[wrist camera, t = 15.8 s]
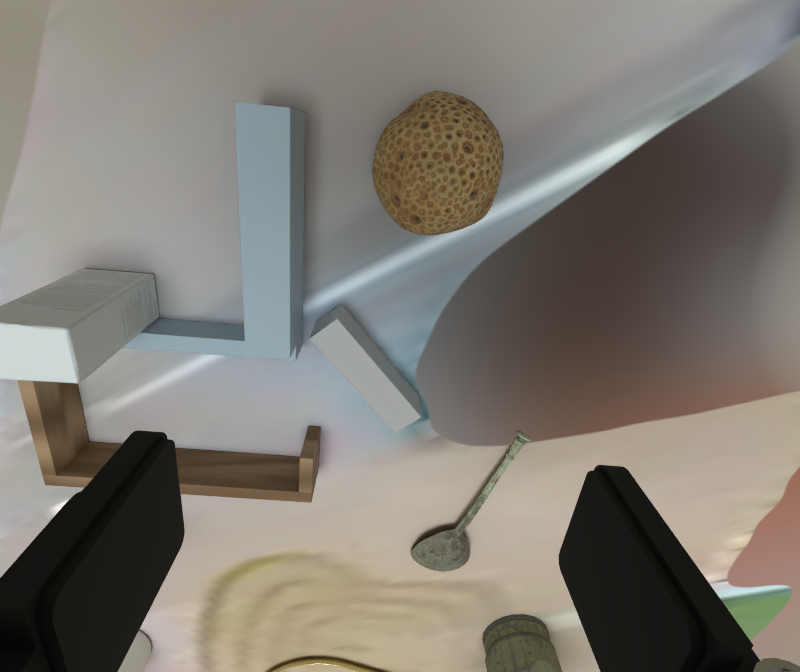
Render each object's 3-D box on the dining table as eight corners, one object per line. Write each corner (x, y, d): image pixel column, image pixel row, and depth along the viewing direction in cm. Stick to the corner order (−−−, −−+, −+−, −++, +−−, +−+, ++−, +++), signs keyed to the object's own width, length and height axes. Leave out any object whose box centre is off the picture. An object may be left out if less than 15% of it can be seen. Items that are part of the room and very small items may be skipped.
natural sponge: (386, 86, 34) (385, 68, 24) (501, 111, 34) (542, 103, 25) (367, 209, 37) (360, 233, 28) (471, 229, 38) (498, 259, 29)
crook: (38, 82, 33) (-32, 72, 28) (305, 112, 34) (289, 107, 29) (86, 326, 41) (39, 356, 35) (302, 343, 42) (290, 374, 37)
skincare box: (92, 313, 40) (-18, 379, 29) (83, 266, 39) (-37, 319, 28) (162, 318, 41) (79, 386, 30) (156, 273, 39) (66, 326, 28)
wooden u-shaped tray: (53, 332, 41) (11, 357, 36) (323, 356, 42) (315, 382, 38) (79, 450, 46) (45, 484, 42) (318, 467, 48) (311, 502, 43)
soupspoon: (400, 551, 55) (447, 565, 56) (401, 577, 52) (451, 591, 53) (496, 418, 46) (548, 439, 48) (505, 440, 43) (560, 461, 45)
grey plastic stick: (316, 321, 41) (309, 338, 38) (341, 302, 41) (337, 318, 37) (394, 409, 45) (394, 433, 42) (418, 394, 45) (421, 417, 41)
